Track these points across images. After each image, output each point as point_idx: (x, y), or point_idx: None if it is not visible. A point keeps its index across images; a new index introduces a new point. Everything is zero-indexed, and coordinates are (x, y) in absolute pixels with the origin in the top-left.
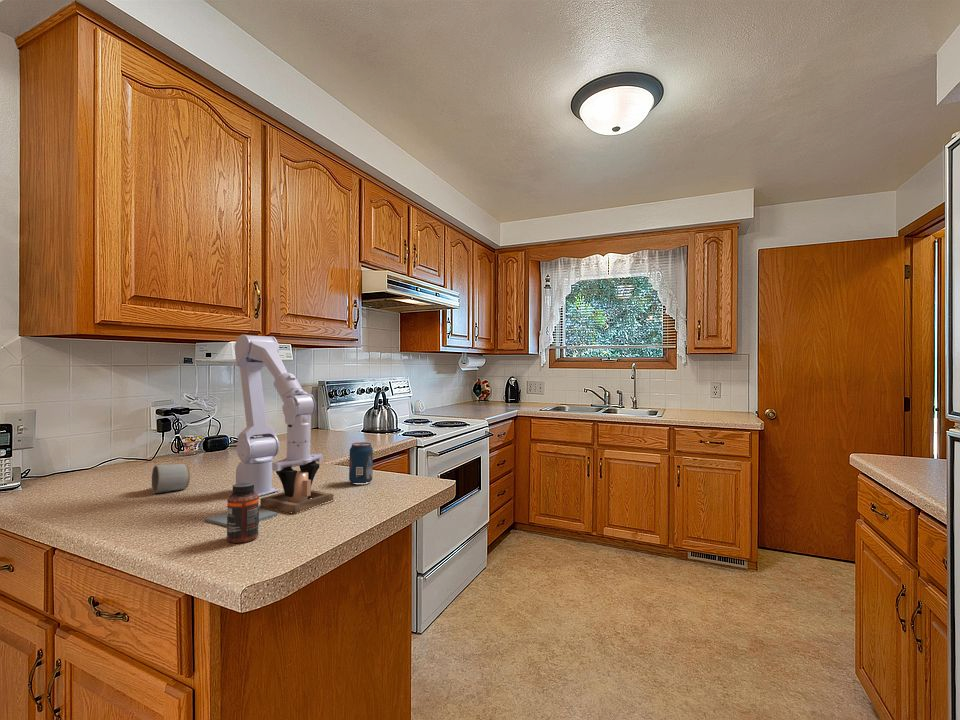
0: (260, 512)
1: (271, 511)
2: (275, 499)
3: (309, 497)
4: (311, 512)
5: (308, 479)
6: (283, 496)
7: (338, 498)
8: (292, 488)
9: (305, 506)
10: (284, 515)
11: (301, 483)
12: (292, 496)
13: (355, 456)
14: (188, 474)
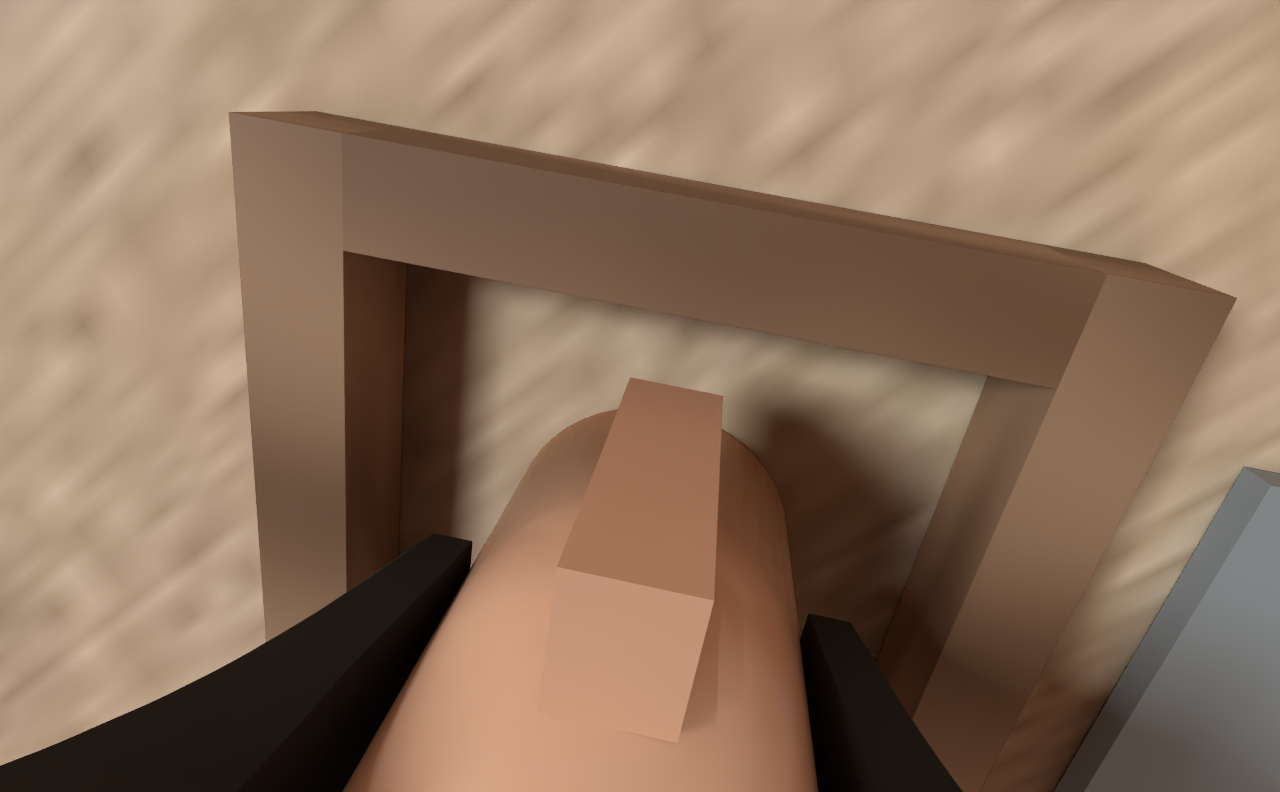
0: (1262, 698)
1: (1204, 601)
2: None
3: (390, 529)
4: (990, 58)
5: (551, 652)
6: None
7: (147, 145)
8: (889, 724)
9: (944, 237)
10: (1225, 381)
11: (713, 692)
12: (816, 615)
13: None
14: None
